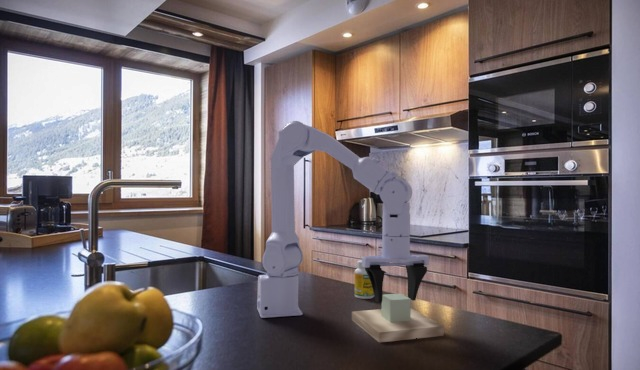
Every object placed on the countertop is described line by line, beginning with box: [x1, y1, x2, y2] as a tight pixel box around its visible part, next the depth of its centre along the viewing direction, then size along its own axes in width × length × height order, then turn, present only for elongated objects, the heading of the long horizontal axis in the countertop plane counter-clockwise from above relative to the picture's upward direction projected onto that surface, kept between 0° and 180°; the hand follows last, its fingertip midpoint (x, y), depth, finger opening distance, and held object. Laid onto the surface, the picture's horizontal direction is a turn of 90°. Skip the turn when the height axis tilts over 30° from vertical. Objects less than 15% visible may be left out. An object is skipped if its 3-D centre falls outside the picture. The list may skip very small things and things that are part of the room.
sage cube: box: [381, 293, 412, 322], centre depth 87 cm, size 4×4×4 cm
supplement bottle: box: [354, 259, 375, 300], centre depth 112 cm, size 5×5×10 cm
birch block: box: [351, 307, 445, 343], centre depth 87 cm, size 14×14×2 cm
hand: (395, 300), depth 87 cm, fingers open, 7 cm apart
